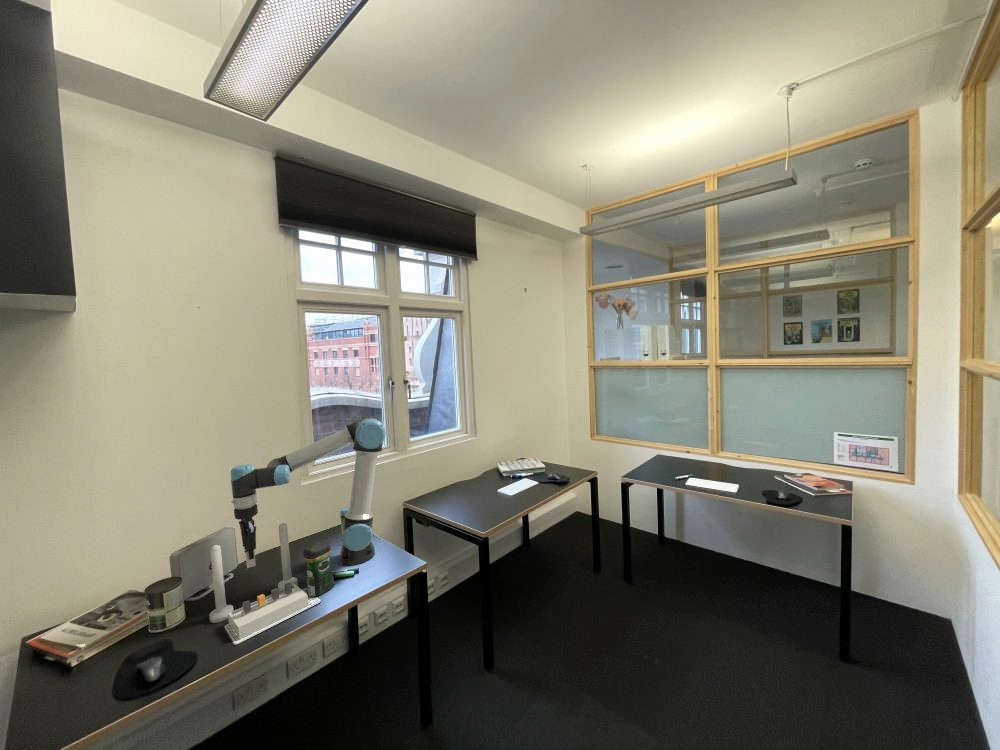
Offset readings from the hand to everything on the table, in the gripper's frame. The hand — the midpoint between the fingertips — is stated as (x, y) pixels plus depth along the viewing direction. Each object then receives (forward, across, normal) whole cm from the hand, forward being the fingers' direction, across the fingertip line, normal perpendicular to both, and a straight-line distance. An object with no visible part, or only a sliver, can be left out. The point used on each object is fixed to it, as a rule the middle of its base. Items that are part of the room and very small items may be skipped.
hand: (251, 566), depth 154 cm
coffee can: (+13, -8, -25) cm, 29 cm away
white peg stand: (+12, +4, -11) cm, 17 cm away
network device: (+13, -25, -10) cm, 30 cm away
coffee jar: (+13, +17, +18) cm, 28 cm away
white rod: (+12, +3, +11) cm, 17 cm away
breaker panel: (+12, +17, 0) cm, 21 cm away
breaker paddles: (+7, +17, 0) cm, 19 cm away
